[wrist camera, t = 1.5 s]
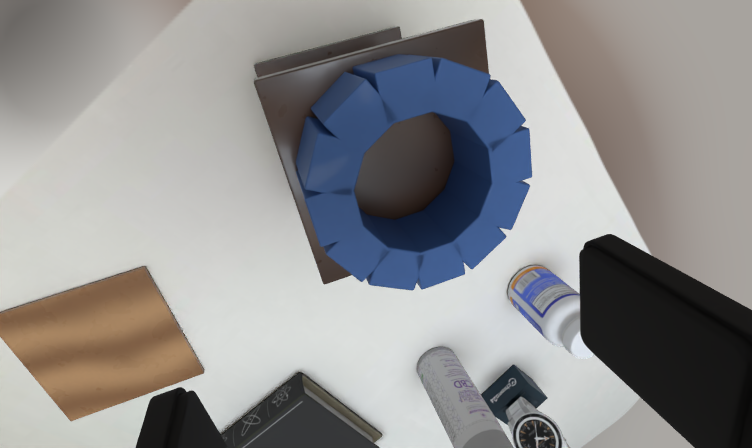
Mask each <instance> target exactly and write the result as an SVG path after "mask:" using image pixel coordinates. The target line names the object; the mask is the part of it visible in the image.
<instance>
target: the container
mask: <svg viewBox="0 0 752 448" xmlns="http://www.w3.org/2000/svg"><path fill="white" fill-rule="evenodd" d="M417 373H418V375H419V377H420V379H421V381H422V383H423V385H424V387H425V389H426V391H427V393H428V395H429V398H430V400H431V402H432V404H433V406H434V408H435V410H436V412H437V414H438V416H439V418H440V420H441V422H442V424H443V426H444V428H445V430H446V432H447V434H448V436H449V438H450V441H451V443H452V445H453V447H454V448H513V446H512V444H511V443H510V441H509V439H508V438H507V436H506V434H505V433H504V431H503V429H502V428H501V426H500V424H499V423H498V421H497V419H496V418H495V416H494V415H493V413H492V412H491V410H490V408H489V407H488V405H487V404H486V402H485V401H484V399H483V398H482V396H481V394H480V393H479V391H478V390H477V388H476V387H475V385H474V383H473V382H472V380H471V379H470V377H469V376H468V374H467V372H466V371H465V369H464V368H463V366H462V365H461V363H460V362H459V360H458V358H457V357H456V355H455V354H454V352H453V351H452V350H451V349H449V348H446V347H436V348H433V349H431V350H429V351H427V352H426V353H425V354H424V355H423V356H422V357H421V358H420V359H419V361H418V364H417Z"/></svg>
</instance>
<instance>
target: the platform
mask: <svg viewBox="0 0 752 448" xmlns="http://www.w3.org/2000/svg"><path fill="white" fill-rule="evenodd" d="M397 54H401V55H418V56H428V57H438V58H444V59H447V60H450V61H453V62H456V63H459V64H462V65H465V66H467V67H470V68H473V69H476V70H479V71H482V72H485V73H488V74H489V70H488V60H487V50H486V40H485V30H484V21H483V20H482V19H480V20H471V21H467V22H463V23H459V24H456V25H452V26H448V27H444V28H441V29H437V30H433V31H430V32H426V33H422V34H418V35H415V36H411V37H407V38H404V39H402V37H401V32H400V27H392V28H388V29H385V30H381V31H377V32H373V33H369V34H366V35H362V36H358V37H354V38H351V39H347V40H343V41H339V42H335V43H332V44H328V45H324V46H320V47H316V48H313V49H309V50H305V51H301V52H297V53H294V54H290V55H286V56H282V57H278V58H275V59H271V60H267V61H263V62H259V63H256V64H254V68H255V71H256V74H257V76H258V78H255V79H254V84H255V87H256V90H257V93H258V96H259V99H260V102H261V105H262V107H263V110H264V113H265V116H266V119H267V122H268V125H269V128H270V131H271V134H272V136H273V139H274V142H275V145H276V148H277V151H278V154H279V157H280V160H281V162H282V165H283V168H284V171H285V174H286V177H287V180H288V183H289V186H290V189H291V191H292V194H293V197H294V200H295V203H296V206H297V209H298V212H299V215H300V218H301V220H302V223H303V226H304V229H305V232H306V235H307V238H308V241H309V244H310V246H311V249H312V252H313V255H314V258H315V261H316V264H317V267H318V270H319V273H320V275H321V278H322V281H323V284H327V283H330V282H333V281H336V280H339V279H342V278H345V277H348V276H351V275H352V274H350V273H349V272H348V271H347V270H345V269H344V268H343V267H342V266H340V265H339V264H338V263H336V262H335V261H334V260H333V259H331V258H330V257H329V256H328V255H326V253H325V250H324V247H321V246H320V244H319V241H318V238H317V235H316V232H315V229H314V226H313V223H312V220H311V217H310V214H309V211H308V208H307V205H306V202H305V199H304V196H303V193H302V190H301V187H300V183H299V180H298V177H297V174H296V171H298V168H297V165H296V159H297V154H298V150H299V145H300V141H301V137H302V132H303V128H304V124H305V119H306V117H307V116H309V117H313V118H317V116H316V115H315V114H314V113H313V111H312V110H311V107H312V106H313V105H314V104H315V103H316V102H317V101H318V100H319V98H320V97H321V96H322V95H323V94H324V93H325V92H326V91H327V90H328V89H329V88H330V87H331V86H332V85H333V84H334V82H335V81H336V80H337V79H338V78H339V77H340V76H341V75H342V74H343V73H344V72H347V73H350V74H353V75H354V73H353V67H354V66H357V65H361V64H365V63H368V62H372V61H375V60H379V59H383V58H386V57H390V56H394V55H397ZM317 119H318V118H317ZM453 164H454V154H453V147H452V141H451V134H450V130H449V129H448V128H447V127H446V125H445V124H444V123H443V122H442V121H441V120H440V118H439V117H438V116H437V115H436V114H435V113H433V112H430V113H427V114H424V115H420V116H417V117H413V118H410V119H407V120H403V121H400V122H397V123H394V124H393V125H392V126H391V127H390V128H389V129H388V130H387V131H386V132H385V133H384V134H383V135H382V136H381V137H380V138H379V139H378V140H377V141H376V142H375V143H374V144H373V145H372V146H371V147H370V148H369V149H368V150H367V151H366V152H365V153H364V157H363V161H362V164H361V168H360V171H359V175H358V178H357V182H356V185H355V189H354V192H355V196H356V200H357V203H358V207H359V208H360V209H362V210H363V211H364V212H365V213H366V214H367V215H371V216H377V217H382V218H388V219H393V220H396V219H399V218H402V217H405V216H408V215H411V214H414V213H417V212H420V211H423V210H424V209H425V208H426V207H427V206H428V205H429V204H430V203H431V202H432V201H433V200H434V199H435V198H436V197H437V196H438V195H439V194H440V193H441V192H442V191H443V190H444V189H445V186H446V184H447V181H448V178H449V175H450V172H451V170H452V167H453Z"/></svg>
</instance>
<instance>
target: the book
mask: <svg viewBox="0 0 752 448" xmlns="http://www.w3.org/2000/svg"><path fill="white" fill-rule="evenodd" d="M221 436H222V438H223V440H224V441H225V443H226V445H227V446H228V448H379V447H378V446H377V445H375V444H374V442H376V441H377V440H378V439H380V438H381V437H382V434H381V433H380V432H379V431H377V430H376V429H375V428H373V427H372V426H371V425H369V424H368V423H367V422H366V421H364V420H363V419H362V418H360V417H359V416H358V415H356V414H355V413H354V412H352V411H351V410H350V409H349V408H347V407H346V406H345V405H343V404H342V403H341V402H339V401H338V400H337V399H336V398H334V397H333V396H332V395H330V394H329V393H328V392H326V391H325V390H324V389H322V388H321V387H320V386H319V385H317V384H316V383H315V382H313V381H312V380H311V379H309V378H308V377H307V376H306V375H304V374H303V373H300V372H299V373H298V374H297V375H295V376H294V377H293V378H292V379H291V380H289V381H288V382H287V383H286V384H284V385H283V386H282V387H281V388H279V389H278V390H277V391H276V392H274V393H273V394H272V395H271V396H269V397H268V398H267V399H266V400H264V401H263V402H262V403H261V404H259V405H258V406H257V407H256V408H254V409H253V410H252V411H251V412H249V413H248V414H247V415H246V416H244V417H243V418H242V419H241V420H239V421H238V422H237V423H236V424H234V425H233V426H232V427H231V428H229V429H228V430H227V431H226V432H224V433H223V434H222V435H221Z"/></svg>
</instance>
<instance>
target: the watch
mask: <svg viewBox="0 0 752 448" xmlns="http://www.w3.org/2000/svg"><path fill="white" fill-rule="evenodd" d="M481 396H482V398H483V399H484V401H485V402H486V404H487V405H488V407H489V408H490V410H491V412H492V413H493V415H494V416H495V417H497V418H498V419H500V420H501V421H503V422H504V423H506V424H507V425H508V426H509V429H510V431H511V434H512V436H513V437H512V438H513V442H514V446H515V447H516V448H570V447H569V445H568V444H567V443H566V439H565V438H564V437H563V435H562V433H561V430H560V429H559V427H558V425H557V424H556V423H555V422H554V421H553V420H552V419H551V418H550V417H548V416H546V415H545V414H543V413H542V412H540V411H538V410H537V409H536V408H537V407H538V406H539V405H541V404H542V403H543V402H544V401H545V400H546V399H547V397H546V396H545V394H544V393H543V392H542V391H541V389H540V388H539V387H538V386H537V384H536V383H535V382H534V381H533V380H532V379H531V378H530V377H529V376H527V375H526V374H525V373H524V372H522V371H521V370H520V369H519V368H517V367H516V366H515V365H513V366H512V367H510V368H509V369H508V370H507V371H506V372H505V373H504V374H503V375H502V376H501V377H500V378H499V379H498V380H497V381H496V382H495V383H494V384H492V385H491V386H490V387H489V388H488V389H487V390H486V391H485V392H484V393H483V394H482V395H481Z"/></svg>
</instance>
